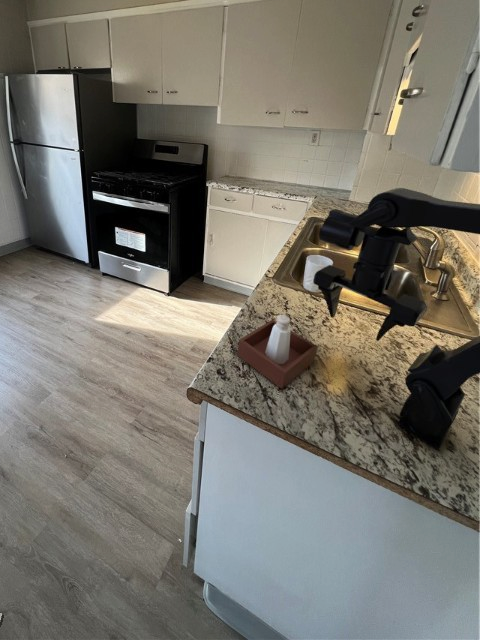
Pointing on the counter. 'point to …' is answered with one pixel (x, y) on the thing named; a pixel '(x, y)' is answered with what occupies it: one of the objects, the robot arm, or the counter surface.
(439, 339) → the counter surface
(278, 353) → the salt shaker
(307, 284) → the white cup
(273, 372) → the bin
